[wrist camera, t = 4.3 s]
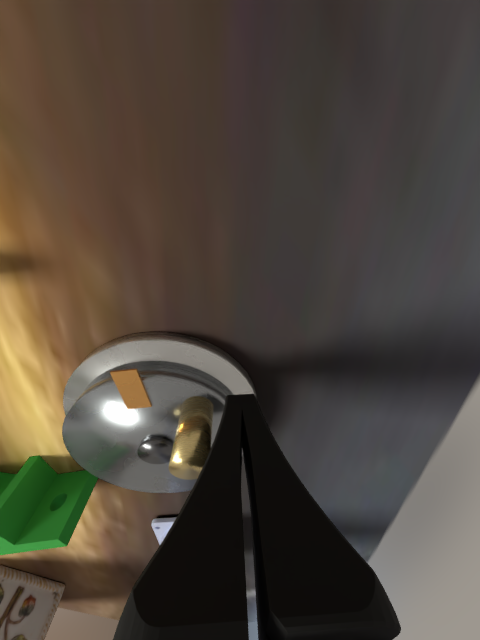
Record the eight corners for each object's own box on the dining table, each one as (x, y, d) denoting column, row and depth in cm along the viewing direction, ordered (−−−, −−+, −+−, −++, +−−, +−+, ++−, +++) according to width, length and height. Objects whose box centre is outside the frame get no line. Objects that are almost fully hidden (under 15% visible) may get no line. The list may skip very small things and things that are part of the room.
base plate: (255, 455, 19) (256, 468, 18) (104, 463, 18) (98, 477, 17) (259, 328, 13) (261, 337, 12) (40, 335, 12) (26, 346, 12)
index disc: (187, 484, 18) (175, 566, 14) (53, 435, 14) (-13, 526, 10) (276, 412, 14) (294, 494, 10) (126, 327, 11) (70, 400, 7)
